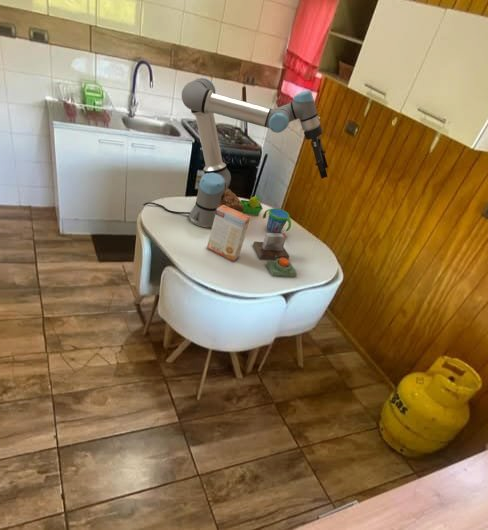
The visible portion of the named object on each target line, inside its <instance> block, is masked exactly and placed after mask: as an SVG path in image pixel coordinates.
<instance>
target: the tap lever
mask: <svg viewBox="0 0 488 530" xmlns="http://www.w3.org/2000/svg"><path fill="white" fill-rule="evenodd" d="M287 239H288V237H287V235H286V234H285V233H272V232H266V234H265V236H264V239H263V241H262V242H263V245H262V247H263V249H264V250H274V251H282V248H283V247H284V246H285V243H286V241H287Z"/></svg>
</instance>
